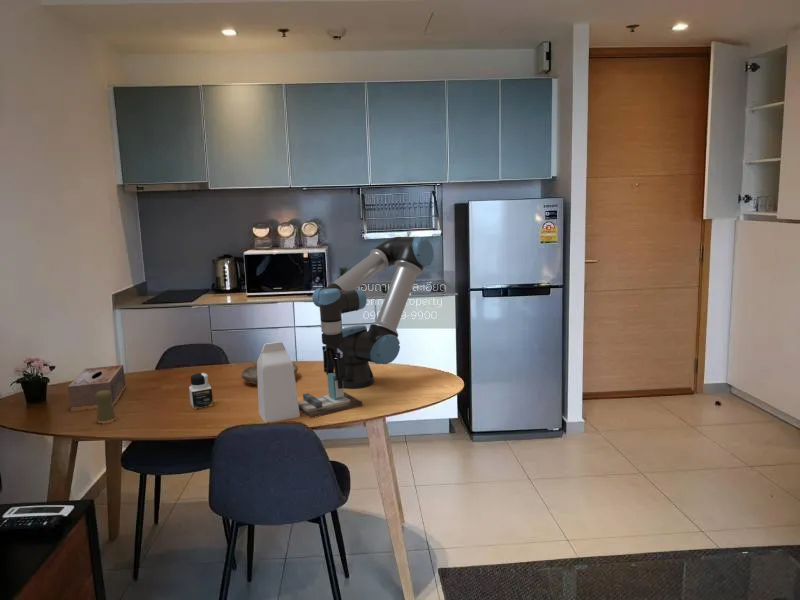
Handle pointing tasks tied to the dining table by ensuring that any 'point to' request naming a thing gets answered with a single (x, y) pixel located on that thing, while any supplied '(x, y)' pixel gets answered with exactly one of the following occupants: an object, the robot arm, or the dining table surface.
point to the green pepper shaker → (104, 405)
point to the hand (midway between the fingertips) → (336, 394)
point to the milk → (276, 384)
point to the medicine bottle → (200, 391)
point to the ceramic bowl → (251, 373)
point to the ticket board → (324, 405)
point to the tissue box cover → (96, 385)
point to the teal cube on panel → (334, 392)
